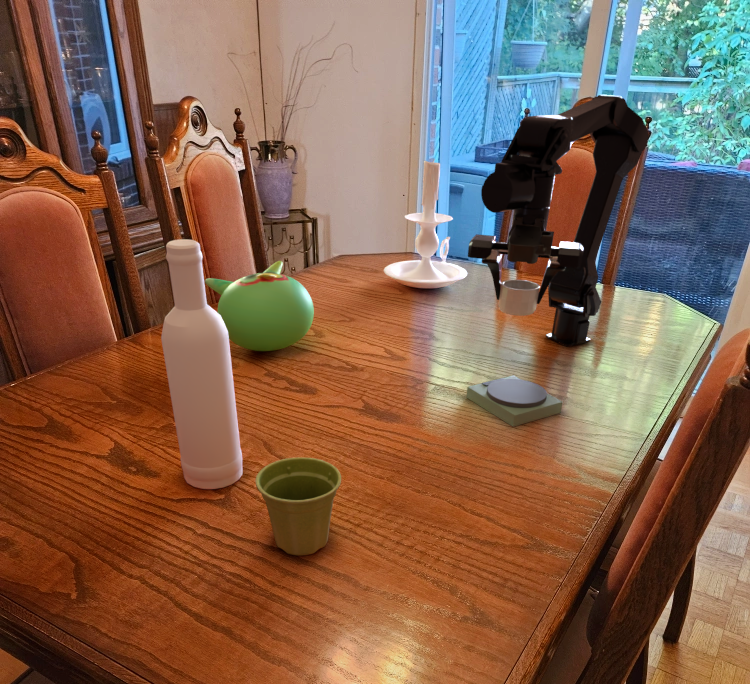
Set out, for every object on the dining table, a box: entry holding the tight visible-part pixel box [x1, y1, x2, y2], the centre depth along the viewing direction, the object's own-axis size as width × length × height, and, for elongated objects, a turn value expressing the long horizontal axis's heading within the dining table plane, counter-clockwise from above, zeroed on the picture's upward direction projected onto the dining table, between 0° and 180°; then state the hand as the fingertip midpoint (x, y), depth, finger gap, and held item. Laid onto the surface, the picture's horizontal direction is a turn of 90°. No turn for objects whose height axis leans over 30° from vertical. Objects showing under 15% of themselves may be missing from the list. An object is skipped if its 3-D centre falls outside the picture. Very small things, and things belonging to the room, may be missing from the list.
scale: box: [465, 374, 563, 428], centre depth 109 cm, size 12×10×3 cm
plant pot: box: [255, 456, 342, 556], centre depth 76 cm, size 9×9×9 cm
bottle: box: [160, 238, 244, 490], centre depth 81 cm, size 8×8×30 cm
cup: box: [497, 279, 541, 317], centre depth 117 cm, size 7×7×4 cm
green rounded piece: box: [204, 260, 315, 352], centre depth 125 cm, size 18×17×15 cm
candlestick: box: [383, 158, 468, 289], centre depth 160 cm, size 21×25×28 cm
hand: (517, 301), depth 117 cm, fingers closed on cup, 7 cm apart
